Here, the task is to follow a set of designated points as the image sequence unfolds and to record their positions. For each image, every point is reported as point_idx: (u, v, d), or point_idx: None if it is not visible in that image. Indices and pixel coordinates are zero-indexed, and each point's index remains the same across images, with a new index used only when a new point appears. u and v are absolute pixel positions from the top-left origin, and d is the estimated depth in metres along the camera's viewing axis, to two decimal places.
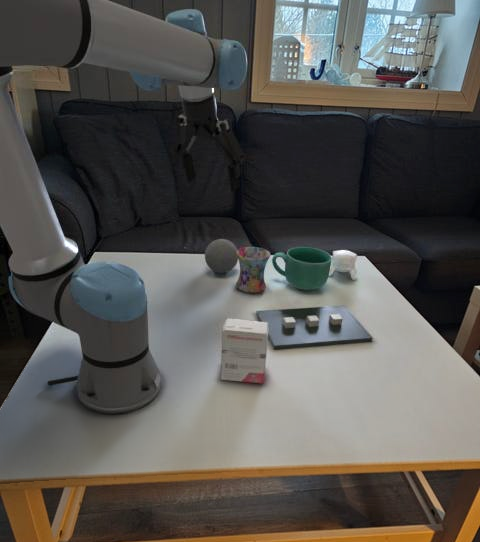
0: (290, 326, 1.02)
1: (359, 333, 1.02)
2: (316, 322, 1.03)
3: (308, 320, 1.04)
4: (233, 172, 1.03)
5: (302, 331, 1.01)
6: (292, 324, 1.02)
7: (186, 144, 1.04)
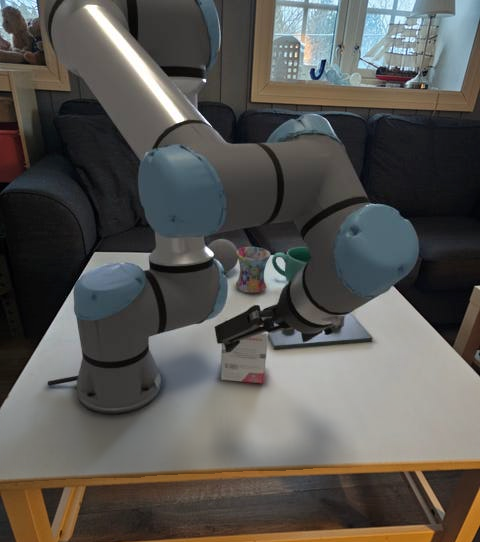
0: None
1: (359, 333, 1.02)
2: None
3: None
4: None
5: None
6: None
7: None
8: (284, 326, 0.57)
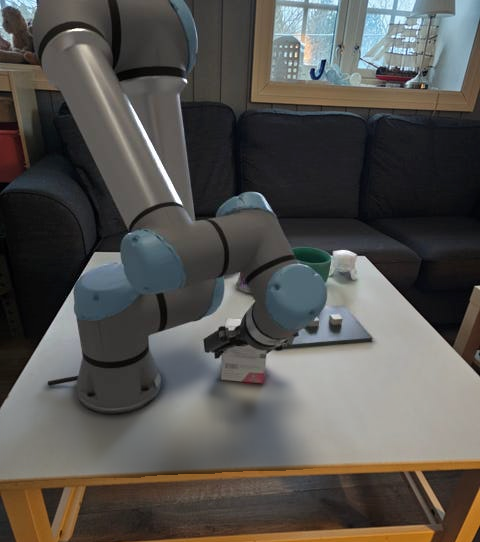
0: None
1: (359, 333, 1.02)
2: (316, 322, 1.03)
3: None
4: None
5: (302, 331, 1.01)
6: None
7: None
8: (246, 342, 0.72)
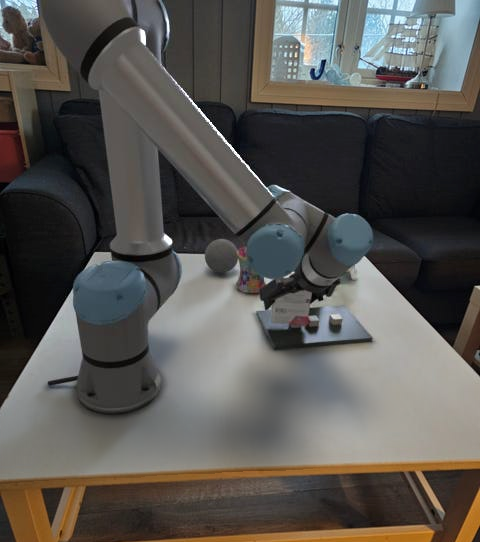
0: (297, 326, 1.02)
1: (359, 333, 1.02)
2: (316, 322, 1.03)
3: (308, 320, 1.04)
4: None
5: (302, 331, 1.01)
6: None
7: None
8: (298, 288, 0.88)
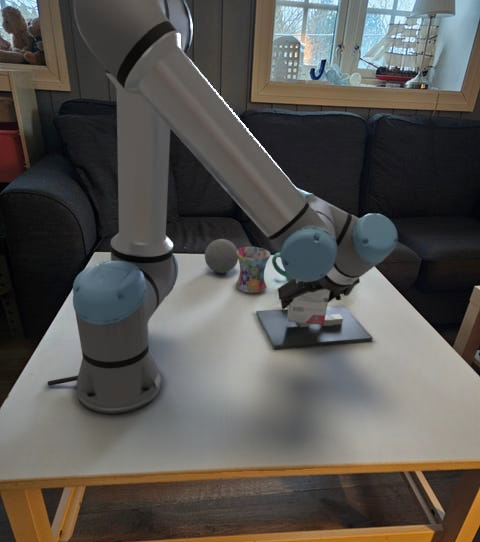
0: (305, 325, 1.03)
1: (359, 333, 1.02)
2: (330, 322, 1.04)
3: None
4: None
5: (302, 331, 1.01)
6: (307, 323, 1.03)
7: None
8: (318, 287, 0.89)
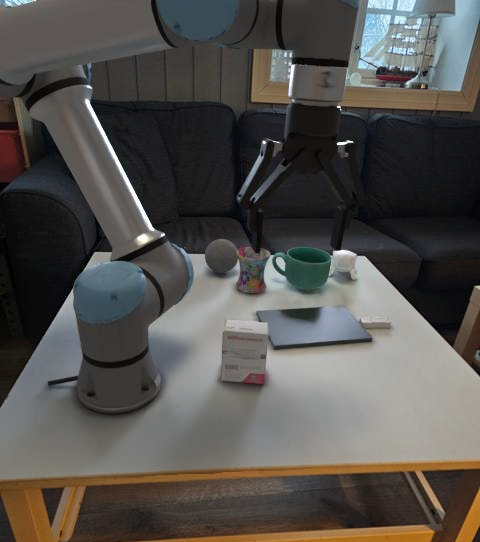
0: (366, 326, 1.06)
1: (359, 333, 1.02)
2: (378, 324, 1.06)
3: None
4: None
5: (302, 331, 1.01)
6: (368, 325, 1.06)
7: None
8: (297, 156, 0.61)
